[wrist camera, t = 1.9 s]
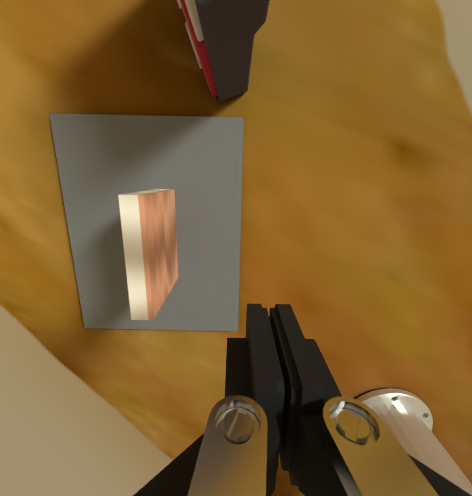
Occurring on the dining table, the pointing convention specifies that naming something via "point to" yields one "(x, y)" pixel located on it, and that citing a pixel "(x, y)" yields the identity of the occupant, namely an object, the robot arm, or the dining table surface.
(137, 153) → the mat
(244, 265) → the dining table surface
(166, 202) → the tile
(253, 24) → the grey and red box
